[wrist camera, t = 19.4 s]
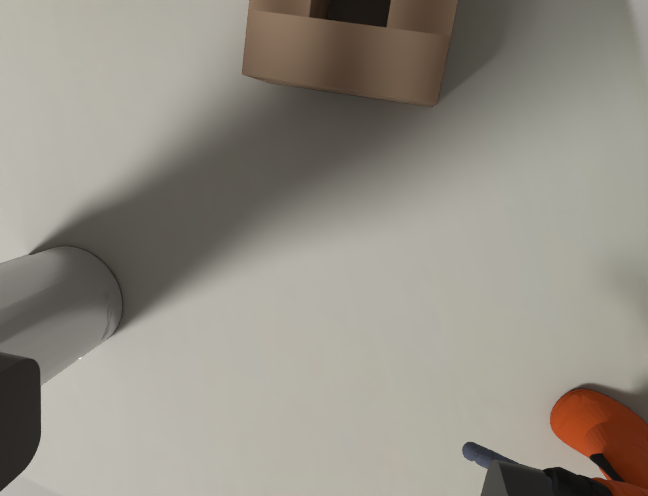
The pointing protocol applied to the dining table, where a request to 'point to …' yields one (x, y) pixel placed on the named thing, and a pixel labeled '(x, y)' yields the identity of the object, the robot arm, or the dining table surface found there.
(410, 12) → the block
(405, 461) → the dining table surface
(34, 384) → the robot arm
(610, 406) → the toy drill
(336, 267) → the dining table surface
